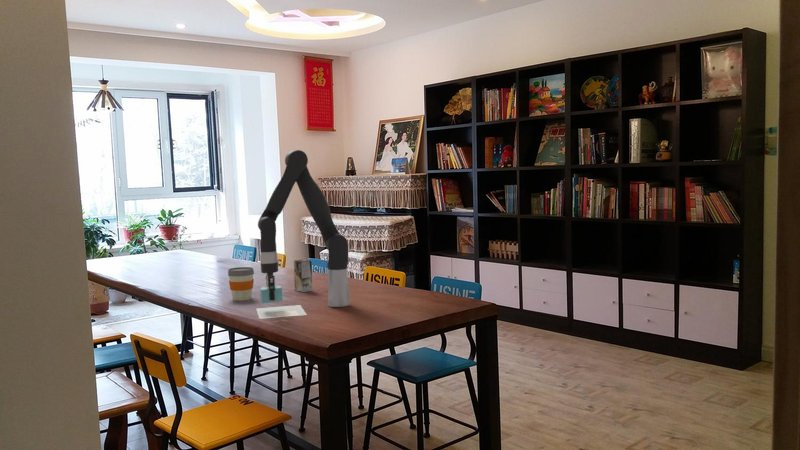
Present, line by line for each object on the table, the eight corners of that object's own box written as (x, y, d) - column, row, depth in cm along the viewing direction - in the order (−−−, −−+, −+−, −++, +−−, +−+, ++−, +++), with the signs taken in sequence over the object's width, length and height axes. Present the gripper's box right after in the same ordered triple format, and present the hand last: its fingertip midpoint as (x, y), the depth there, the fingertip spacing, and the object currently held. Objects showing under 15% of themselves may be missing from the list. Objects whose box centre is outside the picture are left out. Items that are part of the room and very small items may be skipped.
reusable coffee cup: (248, 301, 297) (246, 270, 296) (224, 300, 300) (223, 270, 299) (259, 296, 309) (258, 267, 308) (236, 296, 312) (235, 266, 311)
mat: (300, 306, 283) (300, 304, 283) (307, 316, 262) (307, 314, 262) (256, 309, 277) (256, 308, 277) (259, 320, 256) (259, 318, 256)
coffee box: (313, 290, 322) (312, 260, 320) (302, 292, 318) (301, 261, 317) (304, 288, 329) (303, 259, 328) (294, 290, 325) (293, 260, 324)
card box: (281, 298, 276) (280, 285, 276) (282, 301, 271) (281, 287, 270) (260, 300, 274) (260, 287, 273) (261, 303, 268) (261, 289, 268)
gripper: (279, 262, 265) (281, 301, 266) (276, 258, 279) (278, 295, 280) (261, 264, 263) (264, 302, 264) (259, 260, 276) (261, 296, 278)
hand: (271, 298), depth 272 cm, fingers closed on card box, 6 cm apart
